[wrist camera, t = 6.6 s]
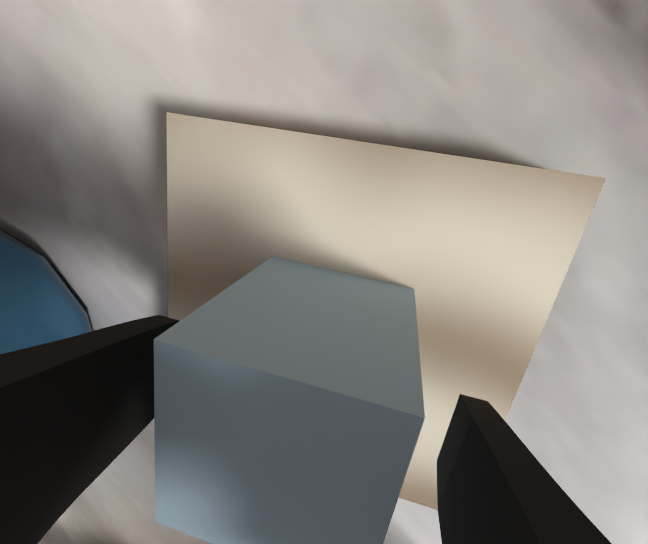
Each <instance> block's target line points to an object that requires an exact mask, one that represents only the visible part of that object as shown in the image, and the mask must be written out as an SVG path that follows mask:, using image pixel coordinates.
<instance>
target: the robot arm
mask: <svg viewBox="0 0 648 544" xmlns="http://www.w3.org/2000/svg"><path fill="white" fill-rule="evenodd" d="M179 321H180V320H176V319H172V318H168V317H164V316H161V315H158V316H152V317H147V318H142V319H138V320H134V321H129V322H126V323H122V324H118V325H114V326H110V327H106V328H103V329H99V330H95V331H91V332H88V333H84V334H80V335H76V336H73V337H69V338H65V339H61V340H57V341H53V342H49V343H45V344H41V345H37V346H33V347H28V348H24V349H20V350H16V351H12V352H8V353H4V354H0V544H37V543H38V542H39V541H40V540H41V539H42V537H43V536H44V535H45V534H46V533H47V531H48V530H49V529H50V528H51V527H52V525H53V524H54V523H55V522H56V521H57V519H58V518H59V517H60V516H61V515H62V514H63V513H64V512H65V511H66V509H67V508H68V507H69V506H70V505H71V504H72V503H73V502H74V501H75V500H76V498H77V497H78V496H79V495H80V494H81V493H82V492H83V491H84V490H85V489H86V488H87V487H88V486H89V485H90V484H91V483H92V482H93V481H94V480H95V479H96V478H97V477H98V476H99V475H100V474H101V473H102V472H103V471H104V470H105V469H106V468H107V467H108V465H109V464H110V463H111V462H112V461H113V460H114V459H115V458H116V457H117V456H118V455H119V454H120V453H121V452H122V451H123V450H124V449H125V448H126V447H127V446H128V445H129V444H130V443H131V442H132V441H133V440H134V439H135V438H136V437H137V435H138V434H139V433H140V432H141V431H142V430H143V429H144V428H145V427H146V426H147V425H148V424H149V423H150V422H151V421H152V420H153V419H154V339H155V338H156V337H158V336H159V335H161V334H162V333H163V332H165V331H166V330H168V329H169V328H171V327H172V326H174V325H175V324H176V323H178V322H179ZM437 503H438V515H439V523H440V530H441V538H442V544H611V543H610V542H609V541H608V539H607V538H606V537H605V536H604V535H603V534H602V533H601V532H600V531H599V530H598V529H597V528H596V526H595V525H594V524H593V523H592V522H591V521H590V520H589V519H588V518H587V517H586V516H585V515H584V513H583V512H582V511H581V510H580V509H579V508H578V507H577V506H576V504H575V503H574V502H573V501H572V500H571V499H570V498H569V497H568V495H567V494H566V493H565V492H564V491H563V490H562V489H561V487H560V486H559V485H558V484H557V483H556V482H555V480H554V479H553V478H552V477H551V476H550V475H549V473H548V472H547V471H546V470H545V469H544V468H543V466H542V465H541V464H540V463H539V462H538V460H537V459H536V458H535V457H534V456H533V454H532V453H531V452H530V451H529V450H528V448H527V447H526V446H525V445H524V444H523V442H522V441H521V440H520V439H519V438H518V436H517V435H516V434H515V433H514V431H513V430H512V429H511V428H510V427H509V425H508V424H507V423H506V422H505V421H504V419H503V418H502V417H501V416H500V415H499V413H498V412H497V411H496V410H495V409H494V408H493V406H492V405H491V404H490V403H489V402H488V401H485V400H481V399H477V398H474V397H470V396H466V395H462V394H460V395H459V398H458V401H457V404H456V407H455V410H454V412H453V415H452V418H451V421H450V424H449V427H448V430H447V433H446V435H445V438H444V441H443V444H442V447H441V450H440V453H439V456H438V458H437Z"/></svg>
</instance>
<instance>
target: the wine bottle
mask: <svg viewBox="0 0 648 544" xmlns="http://www.w3.org/2000/svg"><path fill="white" fill-rule="evenodd" d="M91 331H92V329H91V325H90V321H89V318H88V314H87V312H86V311H85V310H84V308H83V307H82V306H81V305H80V303H79V302H78V301H77V299H76V298H75V297H74V295H73V294H72V293H71V291H70V290H69V289H68V287H67V286H66V285H65V284H64V282H63V281H62V280H61V278H60V277H59V276H58V274H57V273H56V272H55V270H54V269H53V268H52V266H51V265H50V264H49V263H48V261H47V260H46V259H45V257H44V256H42V255H40V254H39V253H37V252H35V251H34V250H32V249H30V248H29V247H27V246H25V245H24V244H22V243H20V242H19V241H17V240H15V239H14V238H12V237H10V236H9V235H7V234H5V233H4V232H2V231H1V230H0V354H4V353H8V352H12V351H16V350H20V349H24V348H28V347H33V346H37V345H41V344H45V343H49V342H53V341H57V340H61V339H65V338H69V337H73V336H76V335H80V334H84V333H88V332H91Z"/></svg>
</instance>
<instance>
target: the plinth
mask: <svg viewBox="0 0 648 544" xmlns="http://www.w3.org/2000/svg"><path fill="white" fill-rule="evenodd" d="M166 122H167V249H168V318H172V319H176V320H180V321H181V320H182V319H184V318H185V317H186V316H188V315H189V314H191V313H192V312H194V311H195V310H196V309H198V308H199V307H201V306H202V305H204V304H205V303H206V302H208V301H209V300H211V299H212V298H214V297H215V296H216V295H218V294H219V293H221V292H222V291H224V290H225V289H227V288H228V287H229V286H231V285H232V284H234V283H235V282H237V281H238V280H239V279H241V278H242V277H244V276H245V275H247V274H248V273H249V272H251V271H252V270H254V269H255V268H257V267H258V266H259V265H261V264H262V263H264V262H265V261H267V260H268V259H270V258H271V257H272V256H274V257H279V258H283V259H287V260H292V261H296V262H300V263H305V264H309V265H313V266H318V267H322V268H326V269H331V270H335V271H339V272H344V273H348V274H352V275H357V276H361V277H365V278H370V279H374V280H378V281H383V282H387V283H391V284H396V285H400V286H404V287H409V288H413V289H414V290H415V303H416V315H417V327H418V339H419V352H420V364H421V376H422V388H423V401H424V413H425V419H424V422H423V425H422V428H421V431H420V434H419V437H418V440H417V443H416V446H415V449H414V452H413V455H412V458H411V461H410V464H409V467H408V470H407V473H406V476H405V479H404V482H403V485H402V488H401V491H400V494H399V498H402V499H405V500H408V501H411V502H414V503H418V504H421V505H424V506H427V507H430V508H433V509H436V510H438V503H437V458H438V456H439V453H440V450H441V447H442V444H443V441H444V438H445V435H446V433H447V430H448V427H449V424H450V421H451V418H452V415H453V412H454V410H455V407H456V404H457V401H458V398H459V395H460V394H462V395H466V396H470V397H474V398H477V399H481V400H485V401H488V402H489V403H490V404H491V405H492V406H493V408H494V409H495V410H496V411H497V412H498V413H499V415H500V416H501V417H502V418H503V419H504V421H505V419H506V417H507V414H508V412H509V409H510V407H511V405H512V402H513V400H514V397H515V395H516V393H517V390H518V388H519V385H520V383H521V381H522V378H523V376H524V373H525V371H526V369H527V366H528V364H529V361H530V359H531V357H532V354H533V352H534V349H535V347H536V345H537V342H538V340H539V337H540V335H541V333H542V330H543V328H544V325H545V323H546V321H547V318H548V316H549V313H550V311H551V309H552V306H553V304H554V301H555V299H556V297H557V294H558V292H559V289H560V287H561V285H562V282H563V280H564V277H565V275H566V273H567V270H568V268H569V265H570V263H571V261H572V258H573V256H574V253H575V251H576V249H577V246H578V244H579V241H580V239H581V237H582V234H583V232H584V229H585V227H586V225H587V222H588V220H589V217H590V215H591V213H592V210H593V208H594V205H595V203H596V201H597V198H598V196H599V193H600V191H601V188H602V186H603V184H604V181H605V179H606V178H601V177H594V176H587V175H581V174H574V173H568V172H561V171H554V170H548V169H541V168H534V167H528V166H521V165H514V164H508V163H501V162H494V161H488V160H481V159H474V158H468V157H461V156H455V155H448V154H441V153H435V152H428V151H421V150H415V149H408V148H401V147H395V146H388V145H381V144H375V143H368V142H361V141H355V140H348V139H341V138H335V137H328V136H322V135H315V134H308V133H302V132H295V131H288V130H282V129H275V128H268V127H262V126H255V125H248V124H242V123H235V122H228V121H222V120H215V119H209V118H202V117H195V116H189V115H182V114H175V113H169V112H166Z"/></svg>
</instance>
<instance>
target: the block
mask: <svg viewBox="0 0 648 544" xmlns="http://www.w3.org/2000/svg"><path fill="white" fill-rule="evenodd" d="M424 419H425V413H424V401H423V388H422V376H421V364H420V352H419V339H418V327H417V315H416V303H415V290H414V289H413V288H409V287H404V286H400V285H396V284H391V283H387V282H383V281H378V280H374V279H370V278H365V277H361V276H357V275H352V274H348V273H344V272H339V271H335V270H331V269H326V268H322V267H318V266H313V265H309V264H305V263H300V262H296V261H292V260H287V259H283V258H279V257H274V256H272V257H271V258H270V259H268V260H267V261H265V262H264V263H262V264H261V265H259V266H258V267H257V268H255V269H254V270H252V271H251V272H249V273H248V274H247V275H245V276H244V277H242V278H241V279H239V280H238V281H237V282H235V283H234V284H232V285H231V286H229V287H228V288H227V289H225V290H224V291H222V292H221V293H219V294H218V295H216V296H215V297H214V298H212V299H211V300H209V301H208V302H206V303H205V304H204V305H202V306H201V307H199V308H198V309H196V310H195V311H194V312H192V313H191V314H189V315H188V316H186V317H185V318H184V319H182V320H181V321H179V322H178V323H176V324H175V325H174V326H172V327H171V328H169V329H168V330H166V331H165V332H163V333H162V334H161V335H159V336H158V337H156V338H155V339H154V421H155V519H156V522H157V523H160V524H162V525H165V526H168V527H170V528H173V529H175V530H178V531H180V532H183V533H186V534H188V535H191V536H193V537H196V538H199V539H201V540H204V541H206V542H209V543H211V544H383V542H384V539H385V536H386V533H387V530H388V527H389V524H390V521H391V518H392V515H393V512H394V509H395V506H396V503H397V500H398V497H399V494H400V491H401V488H402V485H403V482H404V479H405V476H406V473H407V470H408V467H409V464H410V461H411V458H412V455H413V452H414V449H415V446H416V443H417V440H418V437H419V434H420V431H421V428H422V425H423V422H424Z"/></svg>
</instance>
